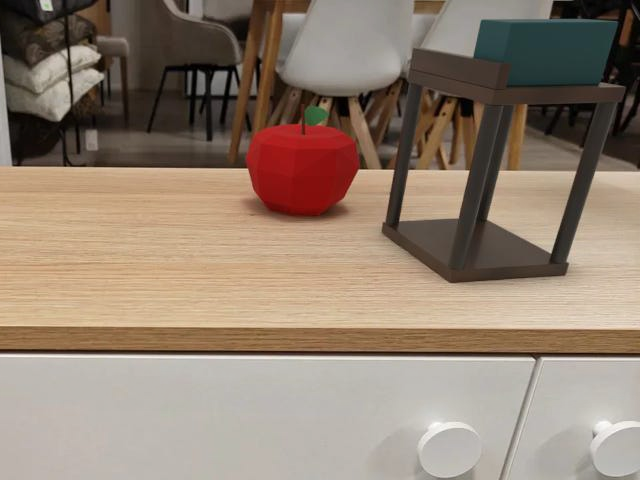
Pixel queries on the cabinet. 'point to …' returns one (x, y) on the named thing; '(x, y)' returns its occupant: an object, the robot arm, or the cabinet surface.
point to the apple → (302, 165)
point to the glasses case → (547, 49)
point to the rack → (489, 171)
